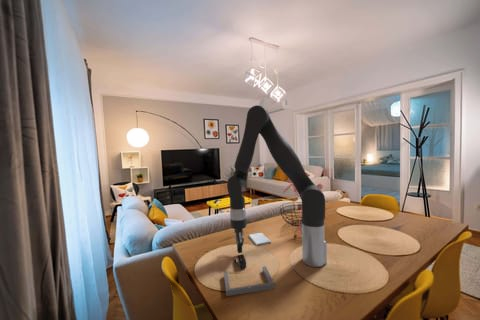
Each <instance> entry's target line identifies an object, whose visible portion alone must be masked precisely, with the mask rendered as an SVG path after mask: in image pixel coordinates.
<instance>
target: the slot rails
mask: <svg viewBox="0 0 480 320" xmlns="http://www.w3.org/2000/svg"><path fill="white" fill-rule="evenodd" d="M262 273H263V275H265V276H264V278H265V280H266V282H265V283H259V284H251V285H246V286H245V285H244V286H238V287H232V288H230V282H229V280H230V279H229V275H228V271H223V278H224V286H225V287H224V288H225V295H226V297H231V296H237V295H238V296H239V295H242V294H243V295H245V294H250V293H256V292H263V291H267V290H269V291H270V290H275V282H274V281H273V278H272V276H271V274H270V272H269V269H268V268H267V266H266V265H263V266H262Z"/></svg>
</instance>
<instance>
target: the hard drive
mask: <svg viewBox="0 0 480 320" xmlns="http://www.w3.org/2000/svg"><path fill="white" fill-rule="evenodd" d="M248 238H249V239H250V240H251V241H252V242H253V244H254V245H255V246H256V247H259V246H265V245H269V244H272V241H271V240H270V239H269V238H268V237H267V236H266V235H265V234H264V233H262V232H258V233H251V234H248Z"/></svg>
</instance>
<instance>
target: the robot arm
mask: <svg viewBox="0 0 480 320" xmlns="http://www.w3.org/2000/svg"><path fill="white" fill-rule="evenodd" d="M243 131H244V132H243V136H242V140H241V143H240V146H239V149H238V153H237V154H236V155H237V156H236V159H235V162H234V165H233V166H234V169H235V170H234V173H233V175H232V176H230V177H229V178H228V179H227V182H226V189H227V193H228V196H229V197H228V198H229V205H230V206H229V207H230V208H229V209H230V210H229V219H230V221H229V222H230V228H231V229H234V230H233V231H234V238H235V239H234V240H235V241H236V251H237V253H238V254H242V253H243V246H244V240H245V239H244V236H245V235H244V233H245V232H244V230H243V229H245V228H246V227H247V211H246V199H245V196H244V195H243V188H244V187H245V185H246V184H247V181H248V175H249V170H250V166H251V164H252V161H253V158H254V154H255V149H256V145H257V140H258V137H259V135H261V137H262V138H263V140H264V143H265V144H266V146H267V149H268V151H269V154H270V156H271V157H272V158H273V160H274V162H275V163H276V164H277V166H278V167H279V168H280V170H281V172H282V173H283V174H284V175H285V176H286V177H288V179H289V180H290V181H291V184H294V186H295V188H296V189H297V191H298V192H297V193H298V195H299V196H300V197H299V198H300V200H301V207H302V211H301V230H302V233H301V241H302V242H301V243H302V244H301V247H302V250H301V251H302V254H301V257H302V262H303V263H304V264H305V265H307V266H309V267H313V268H319V267H321V268H322V267H323V266H325V265H326V264H327V263H328V257H327V256H328V254H327V253H328V252H327V251H328V249H327V247H328V246H327V241H326V240H325V219H326V197H325V194H324V193H323V191H322V189H321V190H320V189H319V188H318V187H317V185H316V184H315V183H314V182H313V181H312V179H311V178H310V176H308V174H307V172H306V171H305V168H304V167H303V164H302V162H301V160H300V159H299V158H300V157H298V155H297V154H296V152H295V150H294V149H293V148H292V146H291V145H290V143H289V141H287V140H286V139H285V137H284V136H283V135H282V134H281V133H280V132H279V130H278V129H277V127H276V126H275V124H274V122H273V120H272V119H271V116H270V114H269V112H268V110H267V109H266V108H265V107H264V106H262V105H257V104H256V105H252V106H251V107H250V108H249V109H248V110H247V113H246V119H245V127H244V130H243Z"/></svg>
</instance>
